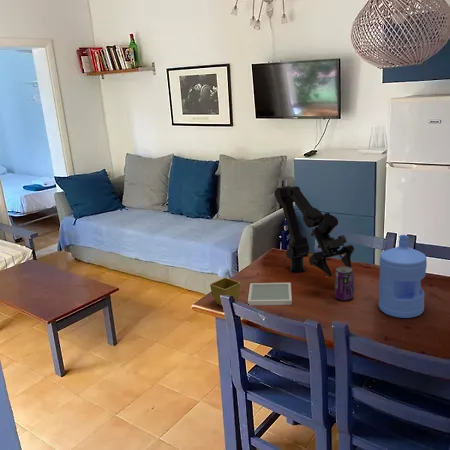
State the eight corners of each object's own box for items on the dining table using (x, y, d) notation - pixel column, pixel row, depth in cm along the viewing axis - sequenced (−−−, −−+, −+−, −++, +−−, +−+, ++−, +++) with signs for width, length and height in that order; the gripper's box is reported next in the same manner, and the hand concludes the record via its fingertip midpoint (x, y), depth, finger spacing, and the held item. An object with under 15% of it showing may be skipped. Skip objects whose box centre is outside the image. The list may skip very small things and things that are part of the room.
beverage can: (350, 303, 179) (350, 274, 175) (332, 299, 182) (332, 271, 179) (355, 295, 184) (356, 267, 181) (338, 292, 188) (338, 264, 185)
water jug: (369, 307, 175) (370, 235, 167) (398, 295, 182) (401, 227, 174) (403, 323, 161) (406, 247, 153) (433, 310, 169) (438, 236, 161)
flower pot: (226, 297, 191) (225, 277, 189) (242, 303, 185) (240, 282, 183) (211, 305, 186) (209, 284, 183) (226, 311, 179) (224, 289, 177)
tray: (250, 287, 199) (250, 283, 199) (290, 286, 197) (290, 282, 196) (247, 305, 183) (247, 301, 182) (291, 304, 181) (291, 300, 180)
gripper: (312, 233, 179) (329, 269, 172) (351, 225, 186) (370, 259, 179) (301, 247, 188) (317, 282, 182) (339, 239, 195) (356, 272, 188)
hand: (341, 273), depth 183 cm, fingers open, 9 cm apart
